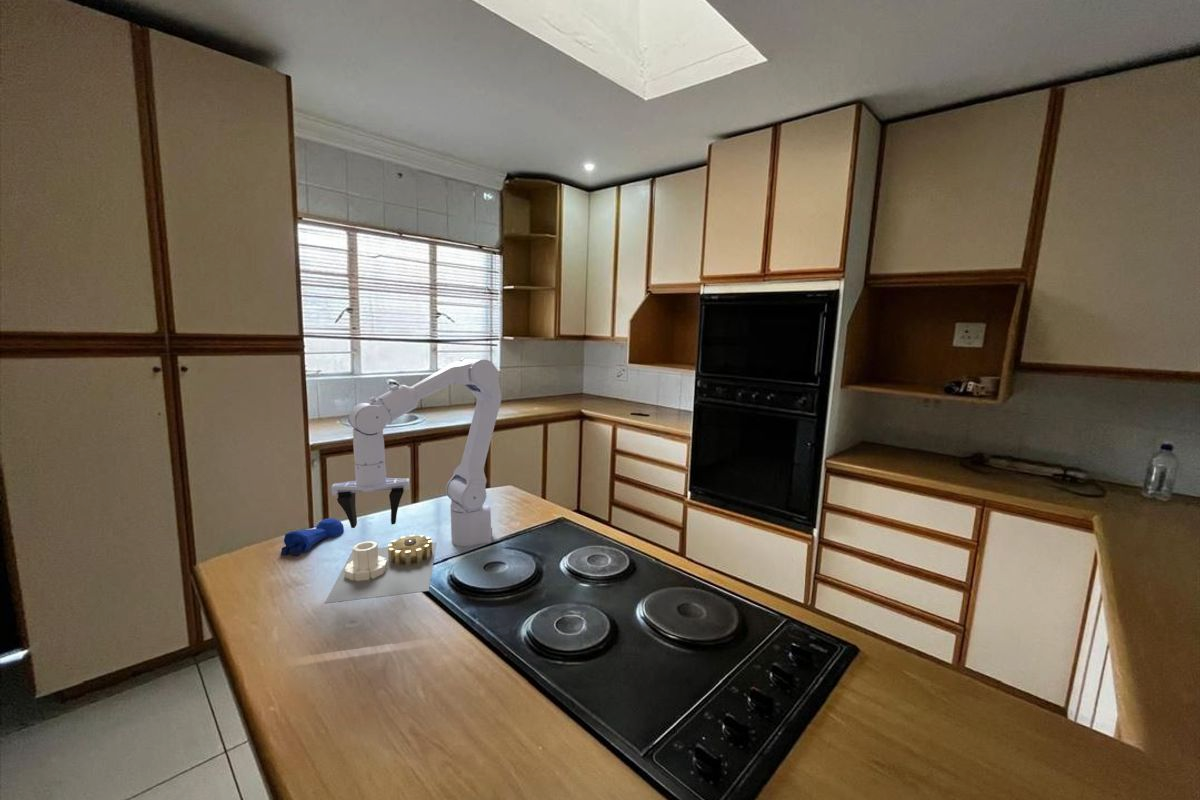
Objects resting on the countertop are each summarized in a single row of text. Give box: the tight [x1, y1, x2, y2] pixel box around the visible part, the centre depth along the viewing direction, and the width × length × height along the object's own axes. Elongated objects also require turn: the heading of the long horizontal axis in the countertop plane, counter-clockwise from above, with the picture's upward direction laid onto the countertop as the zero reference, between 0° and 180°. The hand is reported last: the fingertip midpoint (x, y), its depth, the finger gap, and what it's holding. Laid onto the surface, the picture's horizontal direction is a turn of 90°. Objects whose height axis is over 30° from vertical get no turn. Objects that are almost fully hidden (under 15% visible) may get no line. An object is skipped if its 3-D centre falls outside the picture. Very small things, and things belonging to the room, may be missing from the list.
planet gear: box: [344, 540, 387, 581], centre depth 99 cm, size 8×8×6 cm
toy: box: [280, 517, 345, 558], centre depth 113 cm, size 7×6×15 cm
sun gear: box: [387, 534, 433, 566], centre depth 106 cm, size 9×9×4 cm
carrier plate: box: [324, 542, 437, 604], centre depth 101 cm, size 18×22×1 cm
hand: (374, 524), depth 101 cm, fingers open, 7 cm apart
